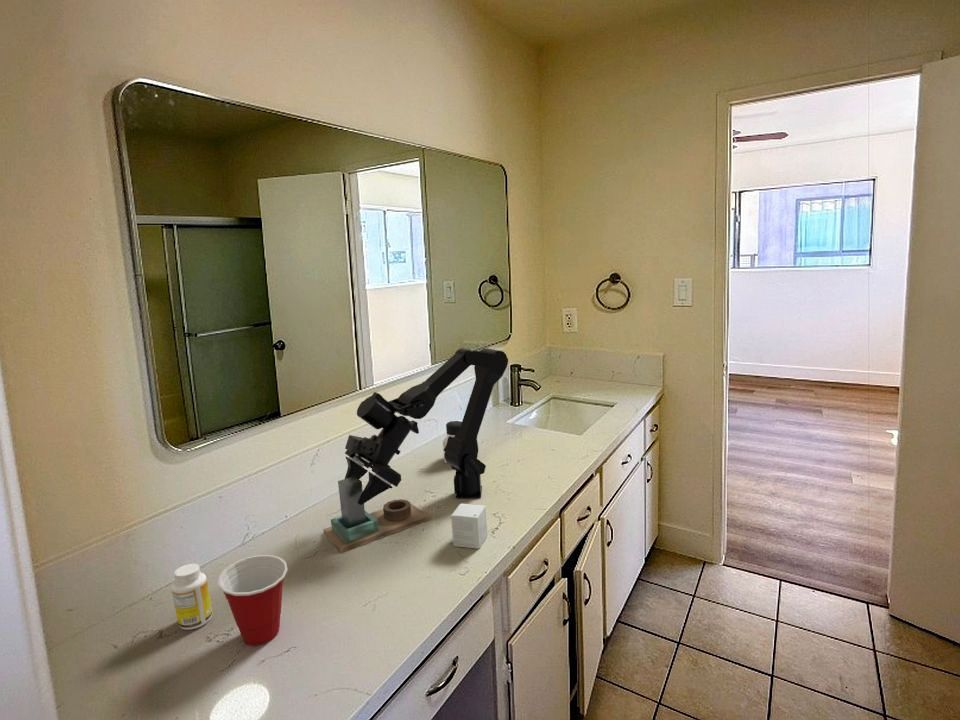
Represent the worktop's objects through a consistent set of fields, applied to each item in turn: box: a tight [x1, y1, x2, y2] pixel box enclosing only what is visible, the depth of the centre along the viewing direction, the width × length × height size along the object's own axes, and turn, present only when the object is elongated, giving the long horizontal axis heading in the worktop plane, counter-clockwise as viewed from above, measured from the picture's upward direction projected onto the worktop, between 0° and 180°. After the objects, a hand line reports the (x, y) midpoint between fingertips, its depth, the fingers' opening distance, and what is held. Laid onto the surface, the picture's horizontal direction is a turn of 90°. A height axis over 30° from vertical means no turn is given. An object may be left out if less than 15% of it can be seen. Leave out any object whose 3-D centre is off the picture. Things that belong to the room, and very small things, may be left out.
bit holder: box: [323, 498, 430, 553], centre depth 131 cm, size 22×11×4 cm, turn 126°
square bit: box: [337, 476, 366, 529], centre depth 127 cm, size 4×4×12 cm
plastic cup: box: [217, 554, 288, 647], centre depth 94 cm, size 11×11×12 cm
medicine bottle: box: [442, 419, 463, 464], centre depth 170 cm, size 7×7×12 cm
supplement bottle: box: [171, 563, 213, 631], centre depth 99 cm, size 6×6×10 cm
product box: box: [450, 503, 488, 550], centre depth 121 cm, size 6×6×7 cm
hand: (350, 497), depth 126 cm, fingers open, 9 cm apart
